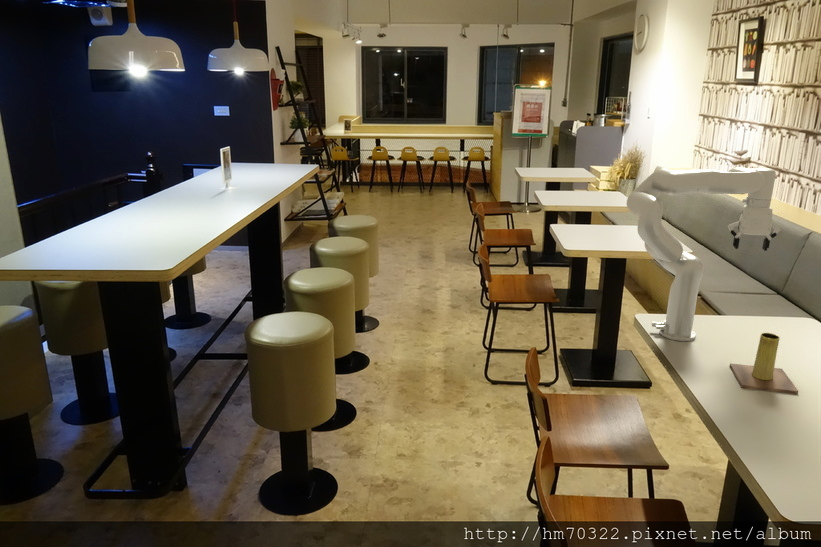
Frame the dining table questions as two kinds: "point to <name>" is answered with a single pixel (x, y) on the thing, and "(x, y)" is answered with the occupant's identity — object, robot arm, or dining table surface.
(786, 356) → the dining table surface
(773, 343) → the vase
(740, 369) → the coaster board
